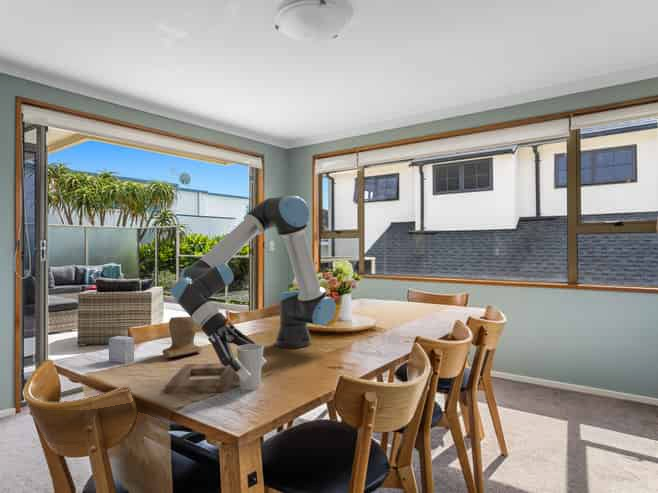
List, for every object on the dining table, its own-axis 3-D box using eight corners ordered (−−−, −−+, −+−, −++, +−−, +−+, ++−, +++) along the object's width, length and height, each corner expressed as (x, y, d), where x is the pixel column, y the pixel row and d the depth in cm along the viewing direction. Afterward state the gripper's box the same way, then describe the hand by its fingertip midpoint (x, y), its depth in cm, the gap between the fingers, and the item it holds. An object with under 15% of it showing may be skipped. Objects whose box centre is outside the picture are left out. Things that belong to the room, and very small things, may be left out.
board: (238, 368, 142) (238, 362, 142) (228, 391, 120) (228, 384, 120) (185, 369, 141) (185, 363, 141) (165, 393, 119) (165, 386, 119)
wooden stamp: (189, 348, 170) (189, 312, 169) (206, 353, 162) (206, 315, 162) (154, 355, 158) (154, 317, 158) (170, 361, 150) (170, 320, 150)
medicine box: (134, 360, 151) (134, 337, 151) (125, 364, 147) (125, 339, 147) (118, 358, 154) (118, 335, 154) (108, 361, 150) (108, 338, 149)
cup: (238, 382, 128) (238, 344, 128) (264, 381, 129) (264, 343, 129) (235, 391, 120) (235, 350, 120) (262, 390, 121) (262, 350, 121)
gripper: (220, 320, 139) (261, 367, 137) (180, 336, 115) (230, 393, 112) (234, 305, 138) (276, 352, 136) (198, 318, 114) (248, 375, 111)
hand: (256, 371), depth 124 cm, fingers open, 13 cm apart
